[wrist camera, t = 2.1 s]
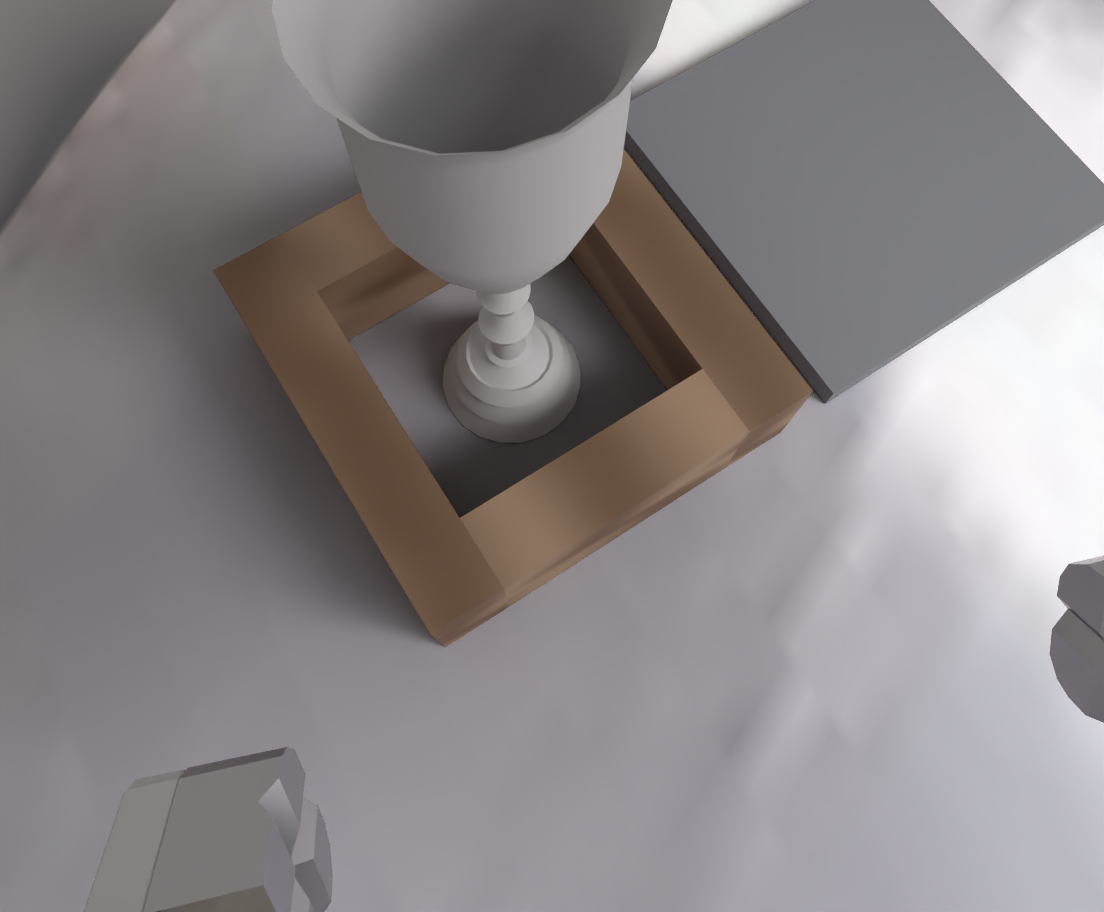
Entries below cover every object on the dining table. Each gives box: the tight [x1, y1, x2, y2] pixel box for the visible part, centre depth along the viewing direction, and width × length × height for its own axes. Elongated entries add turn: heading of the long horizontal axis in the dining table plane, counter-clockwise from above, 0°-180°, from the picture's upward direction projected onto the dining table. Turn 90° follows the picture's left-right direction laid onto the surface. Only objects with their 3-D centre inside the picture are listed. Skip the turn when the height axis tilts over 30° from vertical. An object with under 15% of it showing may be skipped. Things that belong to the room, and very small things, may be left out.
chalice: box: [271, 0, 672, 443], centre depth 24 cm, size 7×7×18 cm
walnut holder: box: [213, 149, 813, 647], centre depth 31 cm, size 14×14×4 cm
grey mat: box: [624, 0, 1104, 403], centre depth 35 cm, size 14×14×1 cm
